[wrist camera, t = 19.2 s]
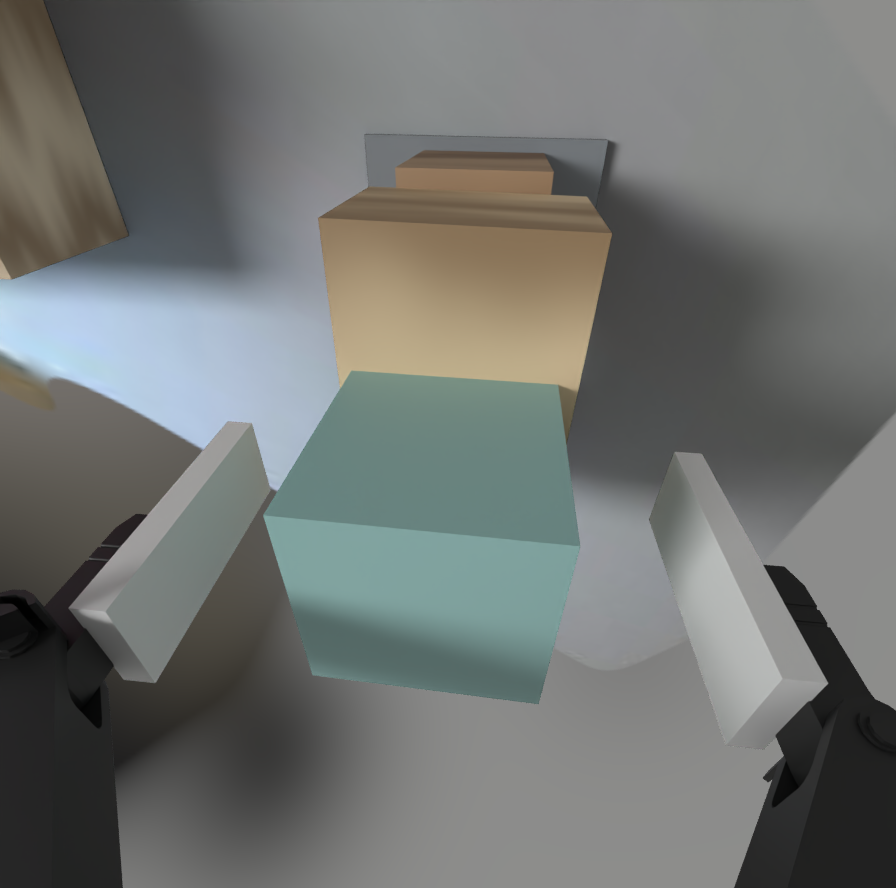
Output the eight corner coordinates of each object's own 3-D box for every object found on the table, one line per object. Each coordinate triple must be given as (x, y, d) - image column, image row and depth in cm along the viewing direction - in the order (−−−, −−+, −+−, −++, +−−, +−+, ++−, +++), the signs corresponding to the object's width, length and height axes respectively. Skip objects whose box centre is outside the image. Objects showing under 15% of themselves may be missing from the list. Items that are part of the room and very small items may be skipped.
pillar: (423, 150, 20) (395, 167, 15) (543, 153, 19) (554, 171, 15) (425, 271, 23) (402, 318, 18) (529, 276, 22) (534, 325, 18)
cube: (351, 370, 14) (263, 515, 9) (557, 384, 13) (580, 546, 9) (369, 516, 17) (312, 675, 13) (532, 531, 17) (538, 703, 12)
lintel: (369, 186, 15) (317, 218, 11) (587, 196, 15) (612, 233, 11) (390, 499, 24) (364, 581, 20) (530, 513, 23) (532, 600, 19)
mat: (366, 133, 20) (364, 134, 20) (606, 139, 19) (608, 140, 19) (389, 439, 30) (388, 442, 29) (550, 450, 29) (551, 454, 29)
